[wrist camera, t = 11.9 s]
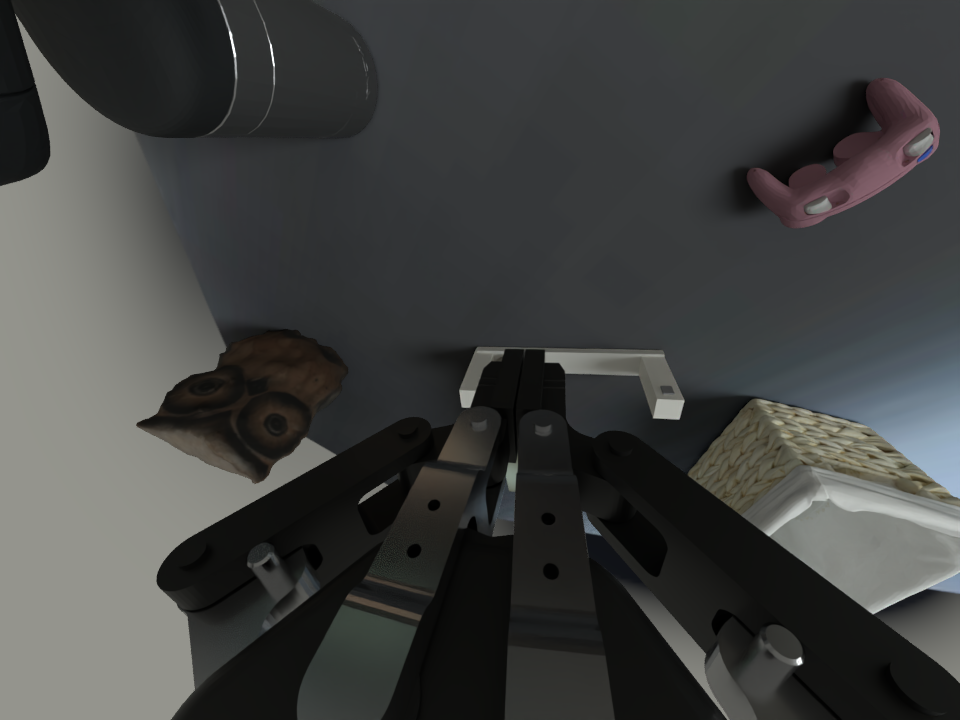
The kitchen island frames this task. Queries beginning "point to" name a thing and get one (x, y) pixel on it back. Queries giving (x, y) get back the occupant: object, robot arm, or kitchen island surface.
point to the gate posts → (596, 372)
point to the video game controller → (855, 160)
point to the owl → (251, 403)
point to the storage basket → (836, 500)
